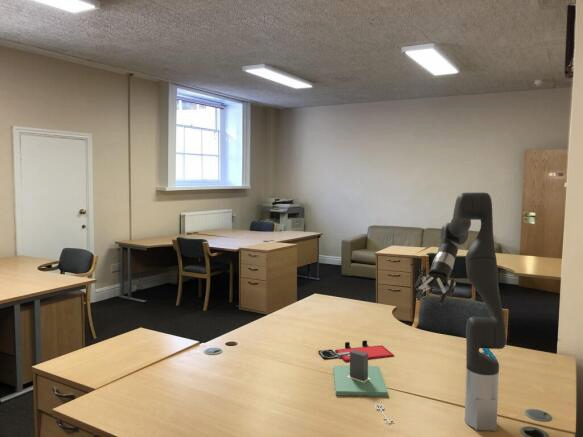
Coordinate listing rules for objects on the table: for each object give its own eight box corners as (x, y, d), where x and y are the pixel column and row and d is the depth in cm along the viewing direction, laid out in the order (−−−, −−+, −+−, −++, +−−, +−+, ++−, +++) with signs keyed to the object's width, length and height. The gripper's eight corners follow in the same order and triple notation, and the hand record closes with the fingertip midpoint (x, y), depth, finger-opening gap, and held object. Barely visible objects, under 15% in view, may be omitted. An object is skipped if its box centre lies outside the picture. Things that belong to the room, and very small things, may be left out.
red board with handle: (316, 351, 200) (327, 365, 185) (316, 344, 199) (327, 358, 185) (378, 345, 208) (393, 358, 193) (378, 339, 207) (394, 351, 193)
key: (382, 405, 152) (373, 406, 151) (382, 402, 152) (373, 403, 151) (395, 425, 140) (384, 425, 140) (395, 422, 140) (384, 422, 140)
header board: (387, 396, 158) (387, 383, 157) (335, 395, 159) (335, 382, 158) (378, 369, 180) (378, 358, 179) (333, 368, 180) (333, 358, 180)
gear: (498, 362, 182) (480, 342, 186) (486, 371, 184) (468, 350, 187) (498, 356, 192) (481, 337, 196) (487, 364, 194) (470, 345, 197)
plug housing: (354, 373, 172) (354, 349, 171) (367, 378, 168) (368, 353, 167) (349, 376, 170) (350, 351, 169) (363, 381, 166) (363, 356, 165)
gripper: (421, 258, 177) (408, 292, 169) (458, 262, 168) (445, 299, 160) (427, 269, 182) (414, 303, 174) (463, 274, 172) (450, 310, 165)
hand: (429, 301), depth 167 cm, fingers open, 8 cm apart
